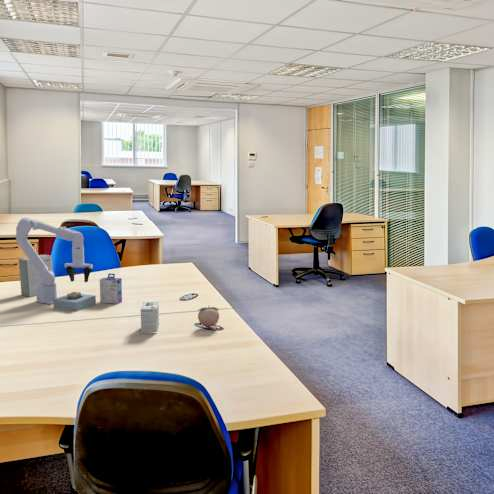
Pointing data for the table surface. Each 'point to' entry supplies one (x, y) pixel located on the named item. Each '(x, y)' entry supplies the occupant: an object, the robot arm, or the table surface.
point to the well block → (74, 302)
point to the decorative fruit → (208, 316)
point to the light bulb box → (149, 317)
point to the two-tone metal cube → (74, 295)
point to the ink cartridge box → (111, 289)
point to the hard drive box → (31, 274)
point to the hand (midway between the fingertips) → (79, 281)
